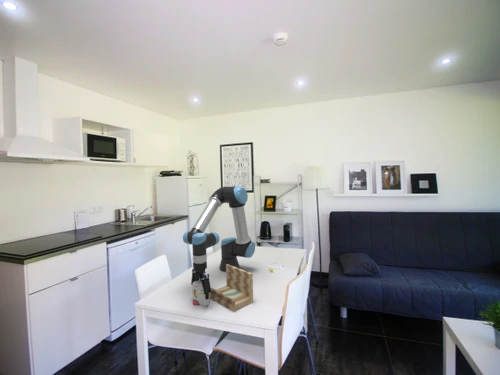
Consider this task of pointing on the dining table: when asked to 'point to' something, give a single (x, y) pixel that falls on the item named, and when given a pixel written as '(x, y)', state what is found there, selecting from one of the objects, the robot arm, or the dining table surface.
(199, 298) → the ink box
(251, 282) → the wooden holder
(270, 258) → the dining table surface
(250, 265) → the dining table surface
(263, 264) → the dining table surface
